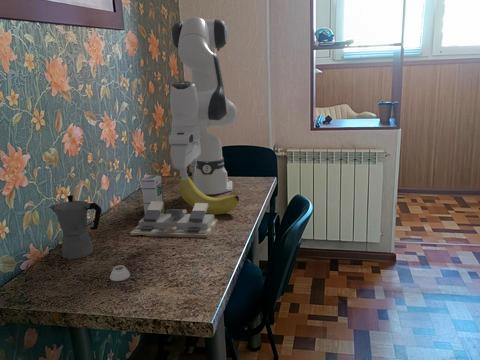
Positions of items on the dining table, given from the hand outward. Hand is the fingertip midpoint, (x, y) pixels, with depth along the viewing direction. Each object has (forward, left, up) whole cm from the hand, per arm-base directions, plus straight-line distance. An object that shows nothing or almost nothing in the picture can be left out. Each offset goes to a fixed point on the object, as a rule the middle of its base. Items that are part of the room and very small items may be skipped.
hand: (189, 175), depth 143 cm
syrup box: (-14, -19, -19) cm, 30 cm away
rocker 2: (-1, -6, -15) cm, 16 cm away
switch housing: (-1, -6, -18) cm, 19 cm away
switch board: (+1, -6, -18) cm, 19 cm away
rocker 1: (-2, -14, -15) cm, 20 cm away
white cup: (+37, -9, -19) cm, 43 cm away
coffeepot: (+23, -28, -19) cm, 41 cm away
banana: (-16, +2, -19) cm, 24 cm away
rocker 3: (-2, +2, -15) cm, 15 cm away
